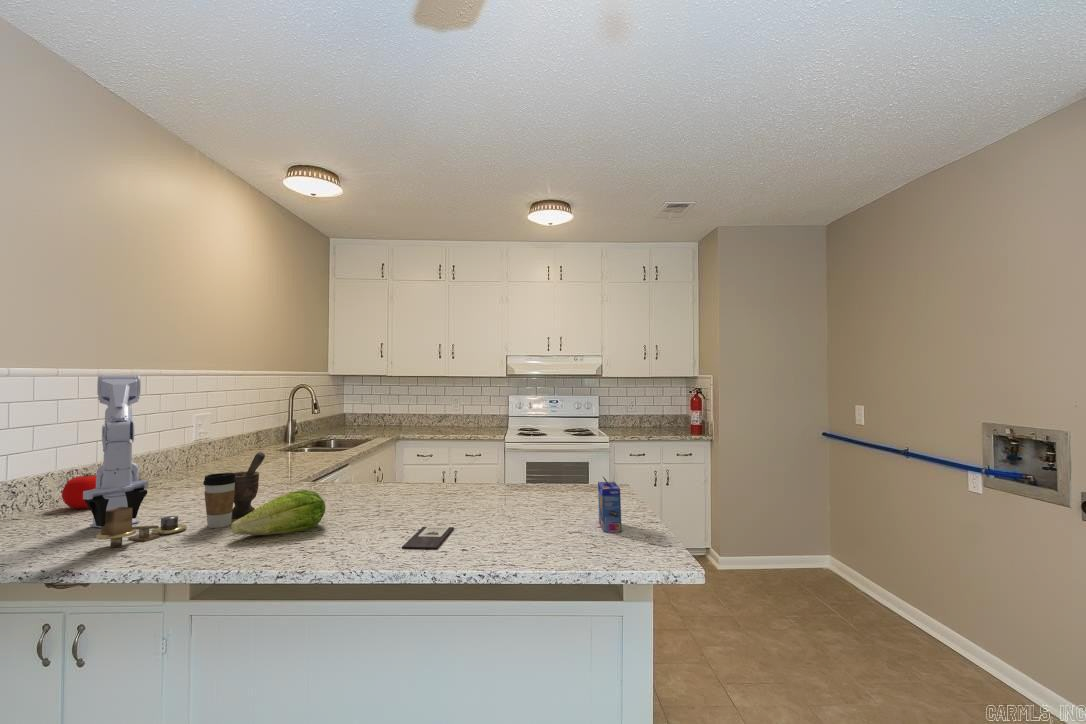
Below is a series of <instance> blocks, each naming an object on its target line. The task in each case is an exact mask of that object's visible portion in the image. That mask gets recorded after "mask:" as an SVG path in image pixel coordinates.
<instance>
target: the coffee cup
mask: <svg viewBox="0 0 1086 724" xmlns="http://www.w3.org/2000/svg"><path fill="white" fill-rule="evenodd" d="M235 482H236V476H235V472H221V473H210V474H207V475H205V476H204V480H203V483H202V484H203V486H204V501H205V514H206V522H207V523H206V524H207V526H206V527H208V528H210V529H218V528H224V527H228V526H231V523H232V510H233V508H234V494H235V489H234V487H235Z"/></svg>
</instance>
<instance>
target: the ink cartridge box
mask: <svg viewBox="0 0 1086 724" xmlns="http://www.w3.org/2000/svg"><path fill="white" fill-rule="evenodd" d="M602 478H603V479H604V481H598V482H597V491H598V494H597V495H598V496H597V497H598V498H597V499H598V501H597V502H598V523H599V525H600V528H601V530H602V532H603V533H622V532H623V531H622V530H623V528H622V503H621V502H622V500H621V488H620V487H619V486H618V484H617V483H616V482H615V481H608V480H607V479H606V478H605V476H602Z"/></svg>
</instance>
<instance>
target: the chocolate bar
mask: <svg viewBox="0 0 1086 724" xmlns="http://www.w3.org/2000/svg"><path fill="white" fill-rule="evenodd" d="M454 529H455V527H454V526H452V527H451V526H422V527H421V528H420V529H419V530H417V532H415V533H414V535H412V537H410V538H409V539H408V540H407V541H406V542H405V543H404V544H403V545H402V546H401V549H402V550H433V551H436V550H437V551H438V549H439V548H440V546H441V545H442V544H443V543H444V542H445V540H446V539H447V538H448V537H449V536H450V535H451V534H452V532H453V531H454Z"/></svg>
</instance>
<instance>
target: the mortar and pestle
mask: <svg viewBox="0 0 1086 724" xmlns="http://www.w3.org/2000/svg"><path fill="white" fill-rule="evenodd" d="M265 457H266V454H265V453H264V452H261V451H259V452H257V453H256V454H255V455H254V457H253V459H252V461H251V463H250V465H249V468H248V469H247V471H245V470H243V471H242V470H241V471H236V472H234V473H235V476H236V482H235V487H234V489H235V494H234V502H233V505H234V506H233V510H232V518H233V519H240V518H242V517H244V516H245V515H247V514H249V513H250V512H252V511H253V510H255V509H256V508H255V507H253V506H252V502H253V500H254V499H256V497H257V494H258V490H259V486H260V485H259V480H260V472H258V471H257V470H258V468H259V467H260V466H261V465H262V463H263V461H264V459H265Z"/></svg>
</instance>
